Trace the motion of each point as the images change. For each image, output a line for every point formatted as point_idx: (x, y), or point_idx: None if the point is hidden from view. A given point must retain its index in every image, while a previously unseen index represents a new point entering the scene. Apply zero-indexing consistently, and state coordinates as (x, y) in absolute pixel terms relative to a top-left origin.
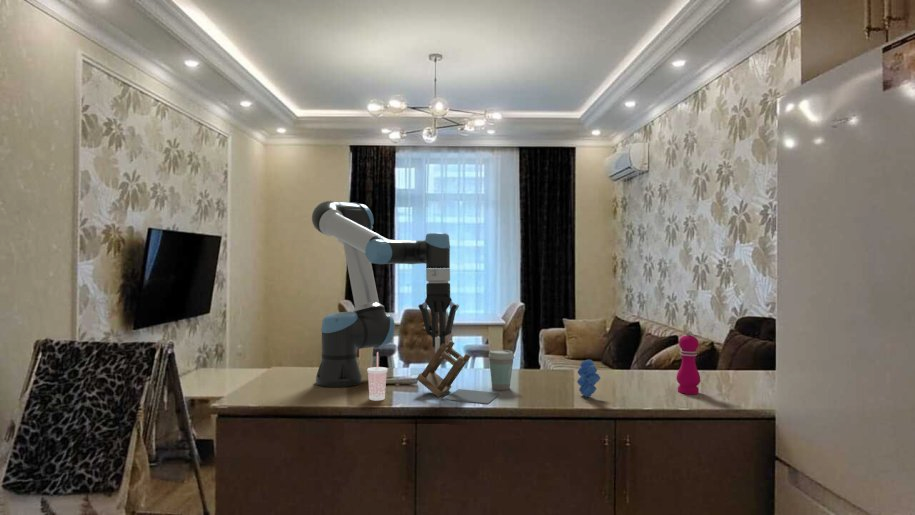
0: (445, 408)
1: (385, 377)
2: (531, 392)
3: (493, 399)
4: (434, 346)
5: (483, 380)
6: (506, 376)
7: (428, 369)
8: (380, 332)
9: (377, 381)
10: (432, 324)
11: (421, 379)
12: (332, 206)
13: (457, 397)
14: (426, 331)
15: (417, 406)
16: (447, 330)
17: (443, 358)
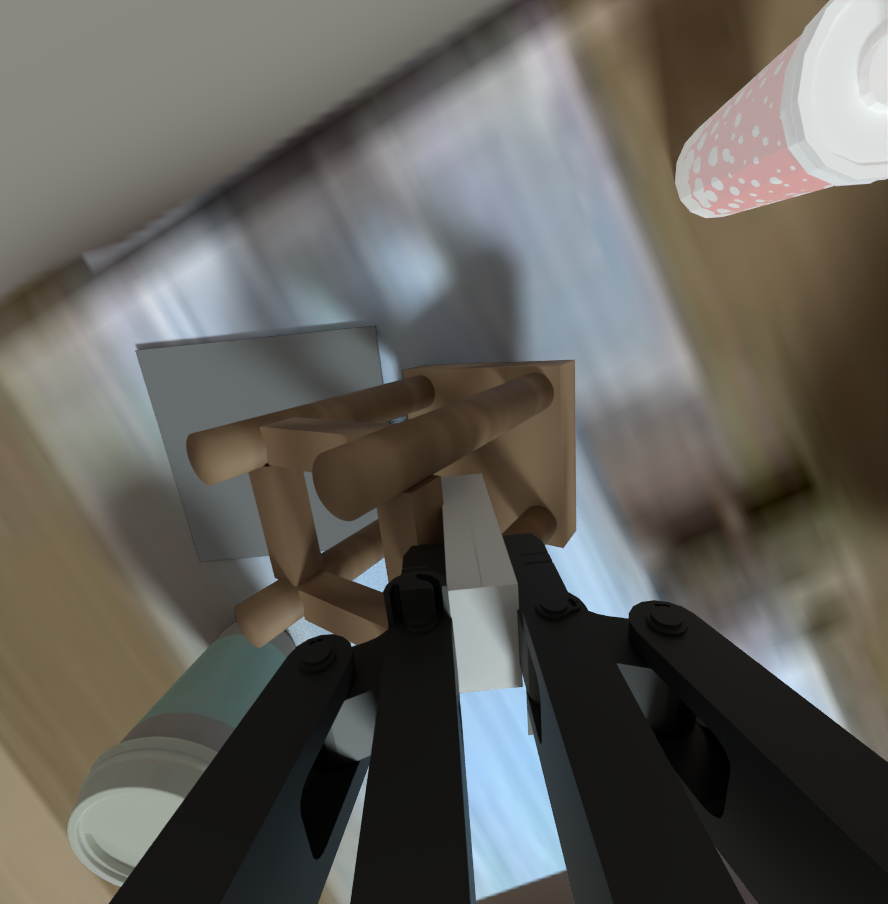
0: (272, 153)
1: (757, 120)
2: (107, 637)
3: (167, 446)
4: (515, 537)
5: None
6: (180, 677)
7: (500, 385)
8: None
9: (787, 47)
10: (661, 791)
11: (536, 364)
12: None
13: (324, 387)
14: (712, 634)
15: (428, 114)
16: (284, 702)
17: None
